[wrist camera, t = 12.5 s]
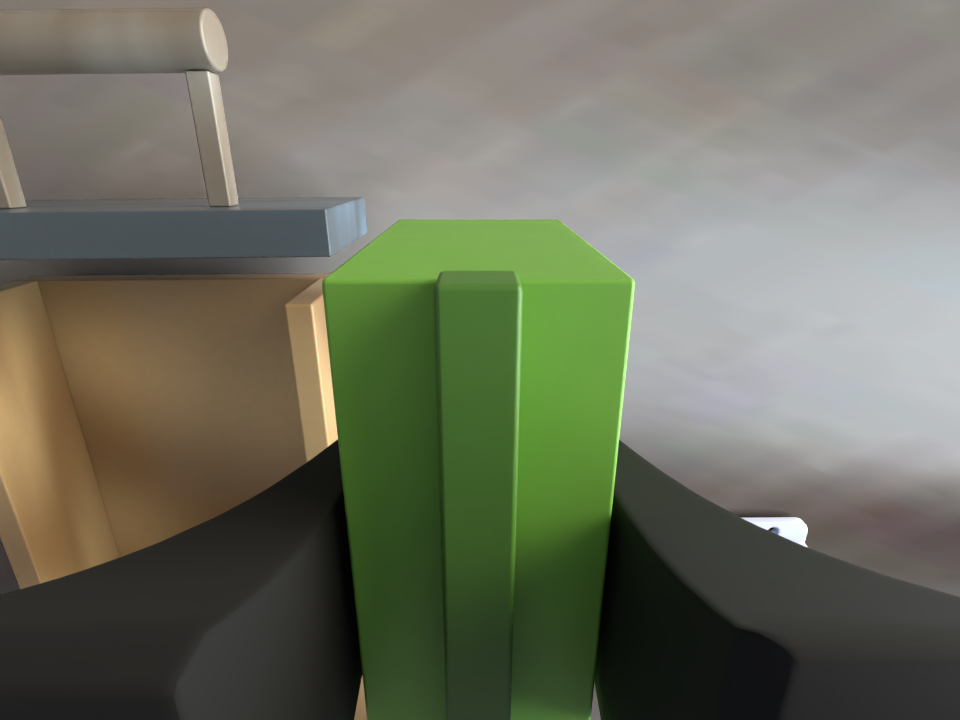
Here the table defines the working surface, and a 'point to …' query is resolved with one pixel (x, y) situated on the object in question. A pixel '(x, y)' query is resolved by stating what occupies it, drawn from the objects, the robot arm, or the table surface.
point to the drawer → (152, 323)
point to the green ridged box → (478, 462)
